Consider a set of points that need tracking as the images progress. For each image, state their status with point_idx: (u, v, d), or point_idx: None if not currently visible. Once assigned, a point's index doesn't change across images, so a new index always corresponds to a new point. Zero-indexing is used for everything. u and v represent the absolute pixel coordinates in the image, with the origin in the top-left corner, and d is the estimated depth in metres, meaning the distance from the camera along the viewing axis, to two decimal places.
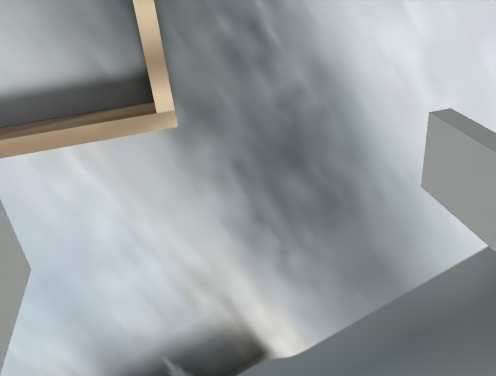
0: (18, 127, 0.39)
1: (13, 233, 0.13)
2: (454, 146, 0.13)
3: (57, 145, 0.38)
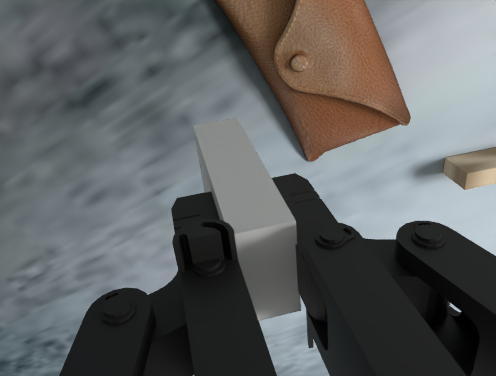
0: None
1: None
2: None
3: None
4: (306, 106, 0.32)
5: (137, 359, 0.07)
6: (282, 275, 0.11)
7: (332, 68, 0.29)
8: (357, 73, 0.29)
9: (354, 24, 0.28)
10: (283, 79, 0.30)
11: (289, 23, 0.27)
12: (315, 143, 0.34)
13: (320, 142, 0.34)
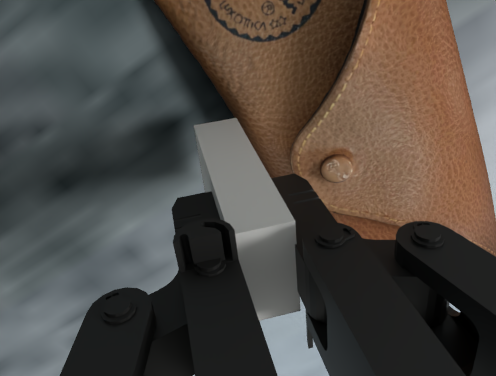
0: None
1: None
2: None
3: None
4: None
5: (138, 359, 0.07)
6: (281, 275, 0.11)
7: (395, 180, 0.16)
8: (438, 189, 0.16)
9: (446, 108, 0.15)
10: None
11: (327, 103, 0.14)
12: None
13: None
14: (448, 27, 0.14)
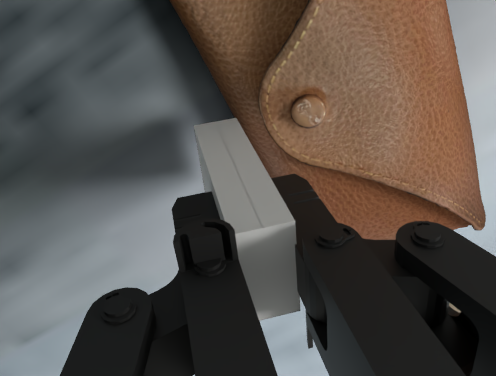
0: None
1: None
2: None
3: None
4: (312, 187, 0.17)
5: (138, 359, 0.07)
6: (281, 275, 0.11)
7: (371, 127, 0.15)
8: (417, 140, 0.15)
9: (427, 45, 0.14)
10: (275, 138, 0.15)
11: (298, 31, 0.13)
12: None
13: None
14: None
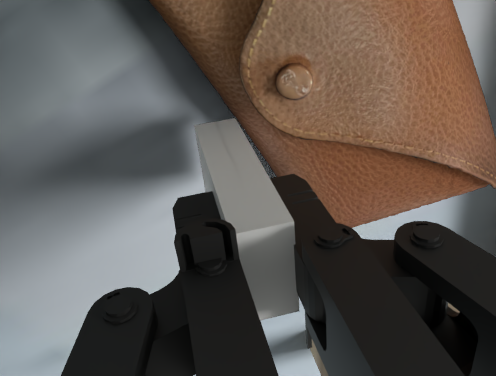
0: None
1: None
2: None
3: None
4: (313, 162, 0.16)
5: (139, 359, 0.07)
6: (280, 275, 0.11)
7: (365, 91, 0.14)
8: (417, 99, 0.14)
9: None
10: (263, 114, 0.15)
11: None
12: None
13: (340, 218, 0.18)
14: None
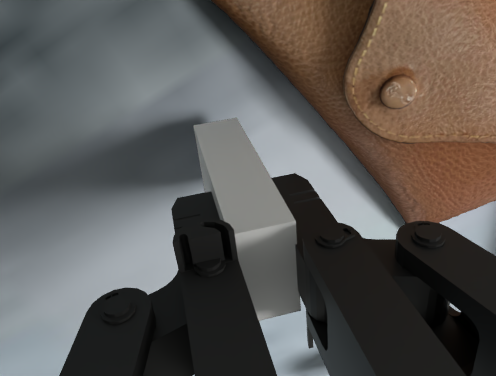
0: None
1: None
2: None
3: None
4: (415, 162, 0.17)
5: (137, 359, 0.07)
6: (282, 275, 0.11)
7: (469, 90, 0.14)
8: None
9: None
10: (368, 126, 0.15)
11: (373, 18, 0.13)
12: (431, 215, 0.19)
13: (442, 211, 0.19)
14: None
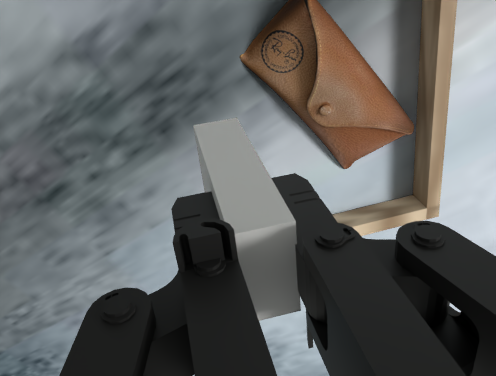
0: (421, 93, 0.46)
1: None
2: None
3: (448, 66, 0.42)
4: (335, 135, 0.45)
5: (137, 359, 0.07)
6: (282, 275, 0.11)
7: (349, 109, 0.42)
8: (367, 109, 0.42)
9: (359, 78, 0.40)
10: (316, 121, 0.43)
11: (314, 88, 0.40)
12: (347, 157, 0.47)
13: (350, 155, 0.47)
14: (351, 50, 0.40)
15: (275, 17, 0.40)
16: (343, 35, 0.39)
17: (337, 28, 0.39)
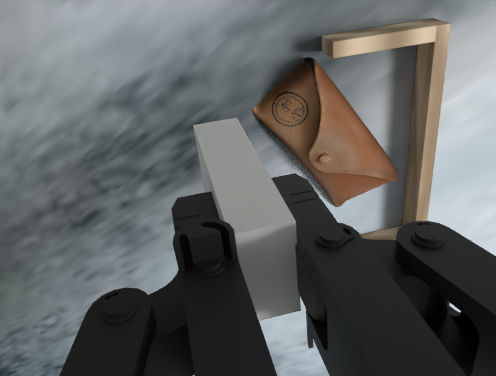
0: (412, 139, 0.52)
1: None
2: None
3: (436, 120, 0.49)
4: (331, 179, 0.51)
5: (137, 359, 0.07)
6: (282, 275, 0.11)
7: (344, 159, 0.49)
8: (360, 159, 0.49)
9: (354, 134, 0.47)
10: (315, 167, 0.50)
11: (315, 140, 0.47)
12: (339, 197, 0.53)
13: (343, 196, 0.53)
14: (349, 111, 0.46)
15: (285, 79, 0.46)
16: (342, 98, 0.46)
17: (338, 92, 0.46)
